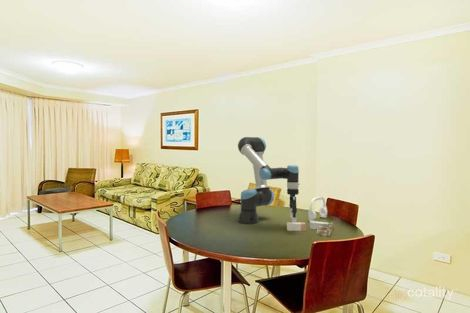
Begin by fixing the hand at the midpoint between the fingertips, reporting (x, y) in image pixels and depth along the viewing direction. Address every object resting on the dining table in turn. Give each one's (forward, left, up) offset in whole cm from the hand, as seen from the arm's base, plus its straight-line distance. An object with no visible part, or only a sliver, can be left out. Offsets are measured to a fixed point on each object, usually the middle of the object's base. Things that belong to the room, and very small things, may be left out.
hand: (292, 219), depth 194 cm
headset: (+11, +34, -7) cm, 37 cm away
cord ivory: (+2, +1, -7) cm, 7 cm away
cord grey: (+16, +10, -7) cm, 20 cm away
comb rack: (+21, +5, -7) cm, 23 cm away
